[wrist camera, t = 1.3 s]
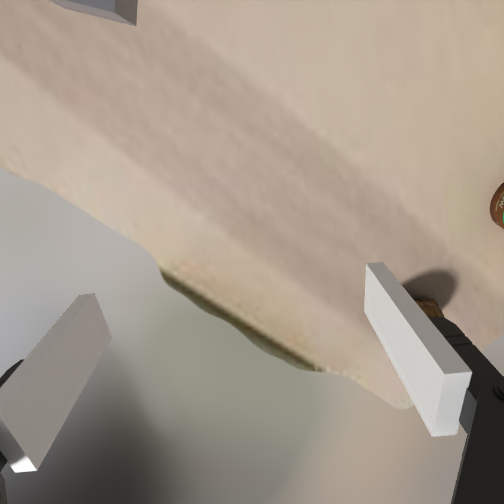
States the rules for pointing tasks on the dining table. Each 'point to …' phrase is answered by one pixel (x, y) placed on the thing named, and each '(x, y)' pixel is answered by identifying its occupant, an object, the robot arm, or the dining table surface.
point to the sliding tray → (104, 9)
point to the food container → (498, 206)
